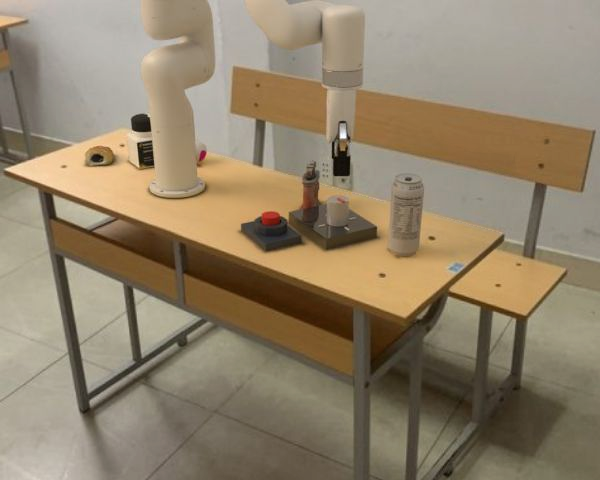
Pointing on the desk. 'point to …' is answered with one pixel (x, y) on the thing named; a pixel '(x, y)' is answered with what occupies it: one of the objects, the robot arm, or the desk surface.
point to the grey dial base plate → (331, 227)
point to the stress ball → (200, 151)
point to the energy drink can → (405, 214)
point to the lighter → (310, 186)
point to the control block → (271, 234)
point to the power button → (270, 218)
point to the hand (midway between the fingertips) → (340, 167)
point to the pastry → (99, 156)
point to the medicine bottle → (141, 142)
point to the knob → (337, 210)
